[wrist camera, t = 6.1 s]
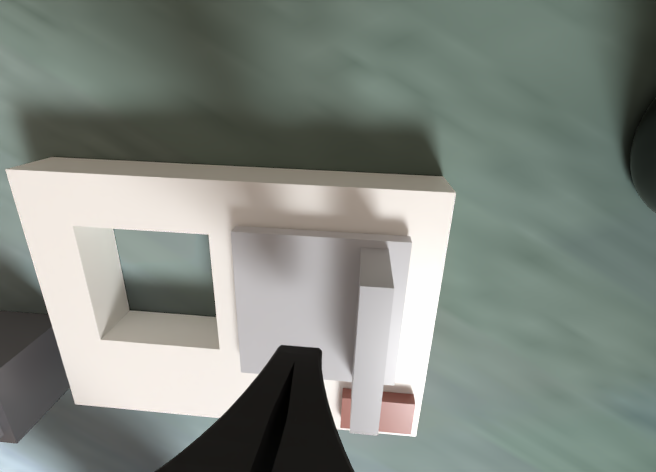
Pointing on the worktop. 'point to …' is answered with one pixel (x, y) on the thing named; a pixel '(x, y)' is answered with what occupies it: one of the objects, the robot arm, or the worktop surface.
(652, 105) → the supplement bottle
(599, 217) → the worktop surface
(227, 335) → the socket plate
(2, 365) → the plug
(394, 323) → the shutter
